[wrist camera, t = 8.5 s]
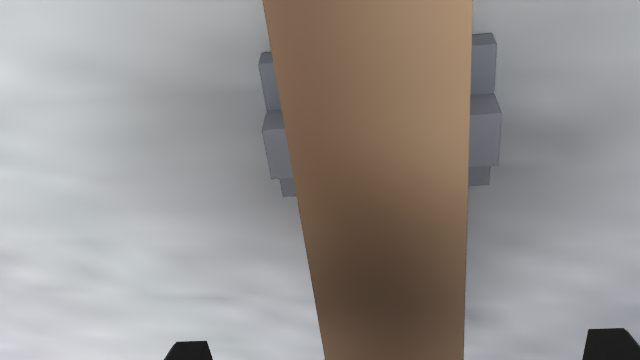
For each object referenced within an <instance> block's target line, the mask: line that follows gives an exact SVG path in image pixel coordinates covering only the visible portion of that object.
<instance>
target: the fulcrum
mask: <svg viewBox="0 0 640 360" xmlns="http://www.w3.org/2000/svg"><path fill="white" fill-rule="evenodd" d="M496 49H497V43H496V41H495V39H494V37H493V35H492V33H490V34H479V35H472V49H471V88H470V126H469V165H468V186H475V185H489V176H490V165H498V160H499V144H500V128H501V110H500V108H499V105H498V103H497V100H496V97H495V95H494V85H495V67H496ZM258 65H259V70H260V76H261V81H262V87H263V92H264V97H265V103H266V108H267V113H266V116H265V120H264V124H263V128H262V133H263V138H264V143H265V148H266V154H267V159H268V164H269V169H270V174H271V179H280V183H281V189H282V194H283V197H288V196H297V195H296V189H295V183H294V178H293V172H292V166H291V160H290V155H289V149H288V143H287V137H286V132H285V126H284V120H283V114H282V109H281V103H280V97H279V91H278V86H277V80H276V74H275V69H274V63H273V57H272V52H269V53H262V54H261V57H260V60H259V63H258Z"/></svg>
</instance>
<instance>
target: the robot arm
mask: <svg viewBox="0 0 640 360" xmlns="http://www.w3.org/2000/svg"><path fill="white" fill-rule="evenodd" d="M164 360H213V359H212V356H211V352H210V349H209V346H208V343H207V341H189V342H176V343H175V344H174V345H173V346H172V348H171V350H170V351H169V353H168V354H167V356H166V357H165V359H164ZM582 360H640V346H639V345H638V343H637V342H636V341H635V340H634V338H633V337H632V336H631V335H630V334H629V332H628V331H626V330H625V329H624V328H614V329H589V330H588V335H587V340H586V345H585V349H584V354H583V359H582Z"/></svg>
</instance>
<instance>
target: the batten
mask: <svg viewBox="0 0 640 360" xmlns="http://www.w3.org/2000/svg"><path fill="white" fill-rule="evenodd" d="M263 5H264V11H265V17H266V23H267V28H268V34H269V40H270V46H271V51H272V57H273V63H274V69H275V74H276V80H277V86H278V91H279V97H280V103H281V109H282V114H283V120H284V126H285V132H286V137H287V143H288V149H289V155H290V160H291V166H292V172H293V178H294V183H295V189H296V195H297V200H298V206H299V212H300V218H301V223H302V229H303V235H304V241H305V246H306V252H307V258H308V264H309V269H310V275H311V281H312V287H313V292H314V298H315V304H316V310H317V315H318V321H319V327H320V332H321V338H322V344H323V350H324V355H325V360H463V358H464V319H465V281H466V242H467V203H468V165H469V126H470V88H471V49H472V11H473V0H263Z"/></svg>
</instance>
